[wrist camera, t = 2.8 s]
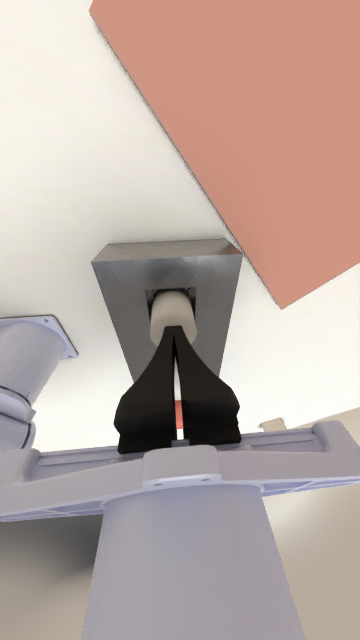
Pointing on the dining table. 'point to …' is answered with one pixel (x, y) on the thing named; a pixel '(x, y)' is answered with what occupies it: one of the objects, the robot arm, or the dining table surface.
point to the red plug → (178, 414)
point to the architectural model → (273, 425)
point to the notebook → (258, 120)
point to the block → (166, 273)
